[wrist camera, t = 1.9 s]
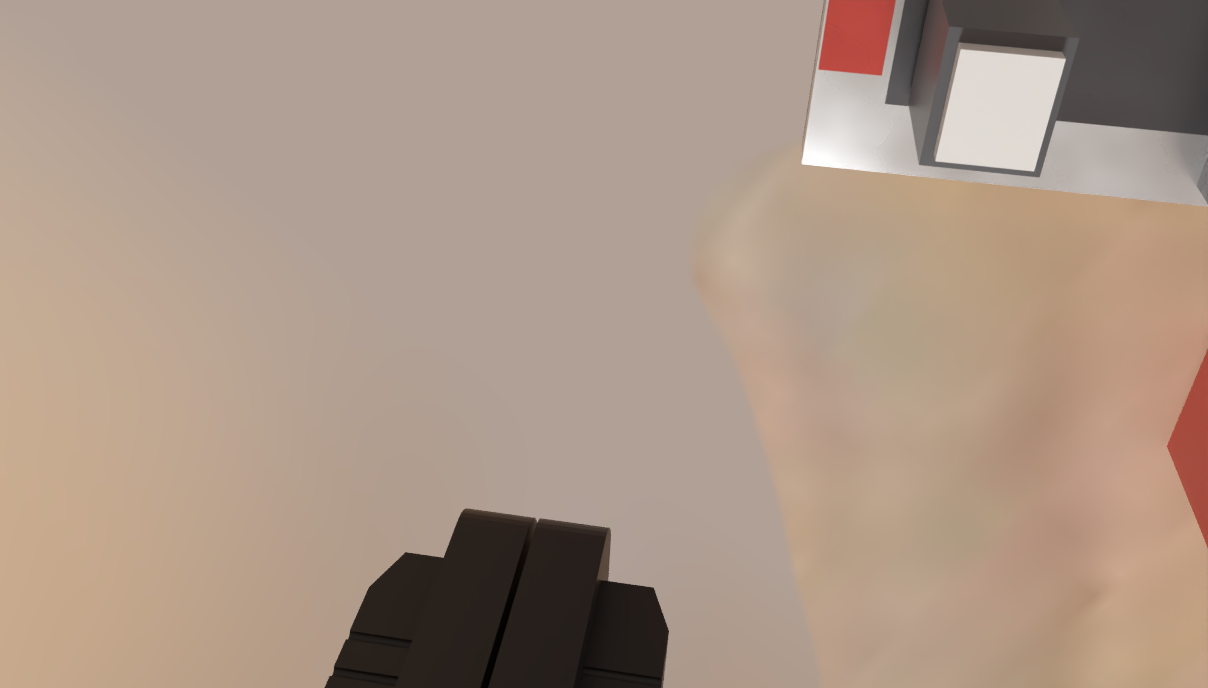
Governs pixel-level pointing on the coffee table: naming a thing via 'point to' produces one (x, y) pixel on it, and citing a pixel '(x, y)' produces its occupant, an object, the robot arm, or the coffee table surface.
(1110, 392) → the coffee table surface
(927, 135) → the toggle
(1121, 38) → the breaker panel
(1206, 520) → the cap
